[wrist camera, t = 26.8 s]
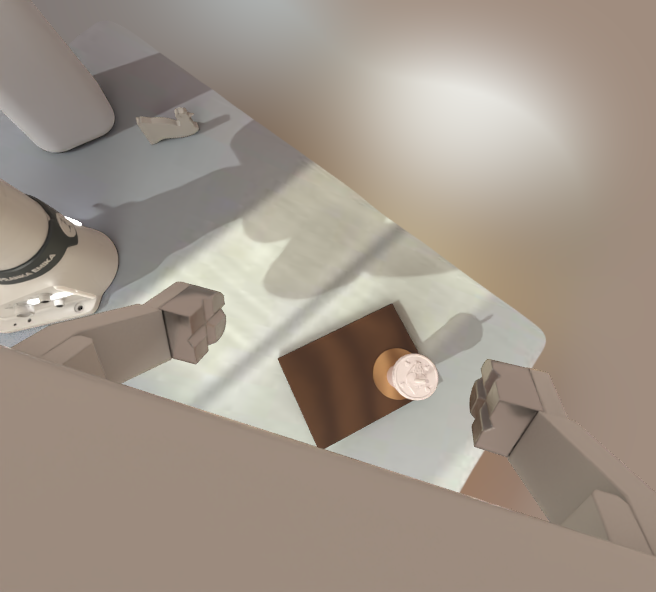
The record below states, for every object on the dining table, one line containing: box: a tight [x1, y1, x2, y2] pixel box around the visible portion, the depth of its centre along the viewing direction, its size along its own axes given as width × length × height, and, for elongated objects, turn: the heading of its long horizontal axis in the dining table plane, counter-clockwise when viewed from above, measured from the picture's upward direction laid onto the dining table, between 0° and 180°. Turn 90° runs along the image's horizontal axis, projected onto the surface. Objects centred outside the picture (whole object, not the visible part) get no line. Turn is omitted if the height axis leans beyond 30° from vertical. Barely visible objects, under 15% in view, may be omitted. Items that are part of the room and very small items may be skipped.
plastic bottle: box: [0, 0, 115, 153], centre depth 51 cm, size 15×15×28 cm
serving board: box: [278, 304, 419, 449], centre depth 56 cm, size 22×16×2 cm
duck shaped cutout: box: [136, 107, 199, 145], centre depth 62 cm, size 6×1×10 cm
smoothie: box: [387, 354, 438, 400], centre depth 48 cm, size 6×6×14 cm
